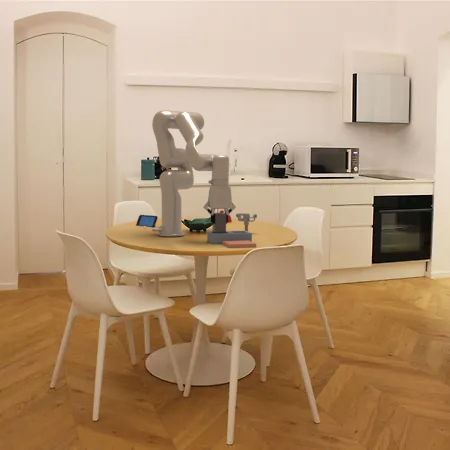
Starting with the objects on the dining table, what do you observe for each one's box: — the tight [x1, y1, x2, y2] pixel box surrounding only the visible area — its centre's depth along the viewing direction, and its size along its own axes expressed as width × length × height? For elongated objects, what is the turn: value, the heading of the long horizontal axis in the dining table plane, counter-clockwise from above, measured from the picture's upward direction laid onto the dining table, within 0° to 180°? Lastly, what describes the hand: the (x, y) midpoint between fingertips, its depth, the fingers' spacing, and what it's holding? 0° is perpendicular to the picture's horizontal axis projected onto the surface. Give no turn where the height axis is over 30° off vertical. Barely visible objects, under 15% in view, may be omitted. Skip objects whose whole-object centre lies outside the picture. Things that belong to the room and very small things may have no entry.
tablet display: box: [135, 214, 158, 228], centre depth 344 cm, size 12×10×7 cm
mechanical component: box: [235, 213, 258, 232], centre depth 327 cm, size 3×10×10 cm, turn 79°
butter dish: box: [219, 209, 232, 224], centre depth 368 cm, size 12×12×8 cm
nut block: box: [211, 212, 227, 233], centre depth 292 cm, size 5×5×10 cm
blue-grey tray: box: [206, 230, 253, 245], centre depth 294 cm, size 18×10×4 cm, turn 105°
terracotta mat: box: [222, 240, 257, 249], centre depth 282 cm, size 12×11×2 cm
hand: (219, 223), depth 292 cm, fingers closed on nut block, 5 cm apart
